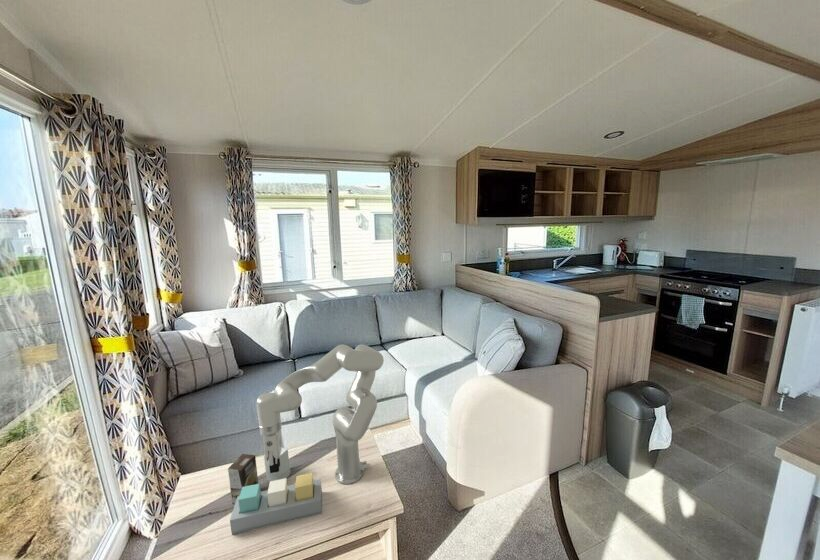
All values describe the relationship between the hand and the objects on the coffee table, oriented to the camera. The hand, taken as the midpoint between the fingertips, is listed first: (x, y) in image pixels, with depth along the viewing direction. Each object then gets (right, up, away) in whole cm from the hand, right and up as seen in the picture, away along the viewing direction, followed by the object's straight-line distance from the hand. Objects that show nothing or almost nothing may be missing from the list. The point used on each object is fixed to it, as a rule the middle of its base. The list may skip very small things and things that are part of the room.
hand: (275, 469), depth 126 cm
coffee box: (-17, -18, +12) cm, 27 cm away
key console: (+1, -19, +3) cm, 19 cm away
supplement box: (-7, -16, +21) cm, 28 cm away
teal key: (-9, -15, 0) cm, 17 cm away
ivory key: (0, -14, +2) cm, 14 cm away
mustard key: (+10, -13, +5) cm, 17 cm away
